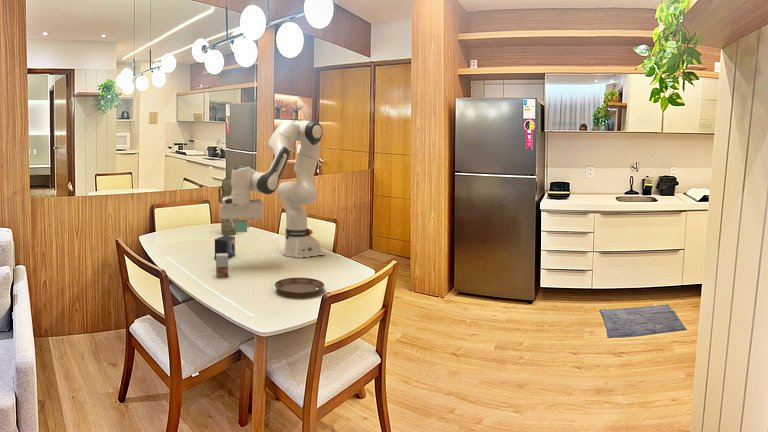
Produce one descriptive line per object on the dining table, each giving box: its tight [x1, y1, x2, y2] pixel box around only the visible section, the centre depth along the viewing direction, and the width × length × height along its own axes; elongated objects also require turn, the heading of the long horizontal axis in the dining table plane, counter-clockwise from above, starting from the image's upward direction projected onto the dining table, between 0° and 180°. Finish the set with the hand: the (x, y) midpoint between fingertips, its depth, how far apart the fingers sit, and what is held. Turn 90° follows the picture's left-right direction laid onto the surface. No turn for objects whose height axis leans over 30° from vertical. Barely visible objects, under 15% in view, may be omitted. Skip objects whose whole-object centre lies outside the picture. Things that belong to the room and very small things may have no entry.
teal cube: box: [235, 219, 248, 233], centre depth 249 cm, size 5×5×5 cm
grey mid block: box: [215, 253, 229, 268], centre depth 233 cm, size 5×5×5 cm
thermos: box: [217, 177, 237, 236], centre depth 319 cm, size 9×12×35 cm
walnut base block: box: [215, 266, 229, 279], centre depth 234 cm, size 5×5×5 cm
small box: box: [214, 235, 236, 260], centre depth 266 cm, size 11×6×10 cm, turn 169°
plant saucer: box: [274, 277, 325, 298], centre depth 218 cm, size 21×21×3 cm
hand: (241, 227), depth 249 cm, fingers closed on teal cube, 5 cm apart
